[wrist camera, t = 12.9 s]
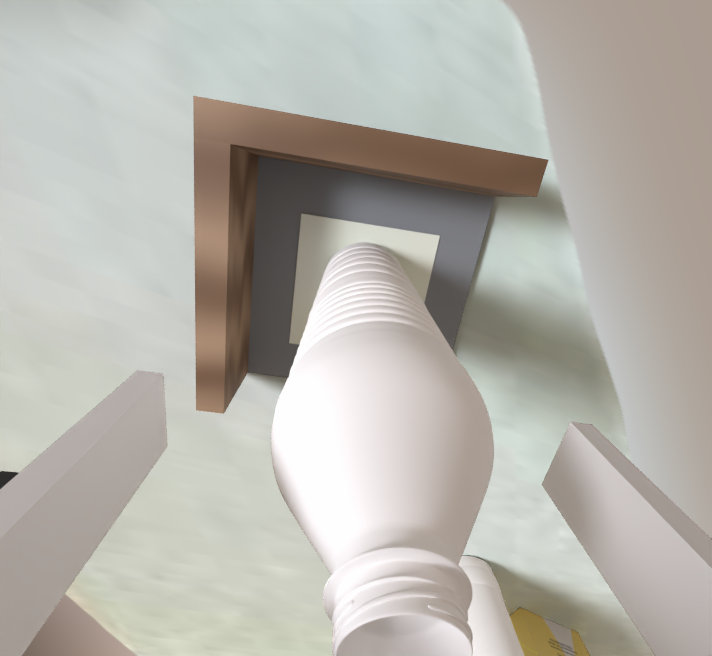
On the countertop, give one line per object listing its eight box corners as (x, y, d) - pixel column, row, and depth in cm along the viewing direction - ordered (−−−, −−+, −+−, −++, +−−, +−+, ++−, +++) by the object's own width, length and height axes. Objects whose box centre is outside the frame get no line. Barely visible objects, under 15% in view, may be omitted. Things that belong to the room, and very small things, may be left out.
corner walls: (234, 121, 25) (193, 95, 19) (499, 168, 27) (548, 160, 20) (227, 366, 32) (196, 410, 26) (437, 393, 34) (458, 441, 27)
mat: (260, 156, 26) (258, 156, 25) (491, 196, 27) (495, 196, 27) (249, 369, 32) (247, 372, 32) (437, 393, 34) (439, 397, 33)
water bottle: (364, 223, 27) (431, 427, 4) (418, 282, 29) (693, 668, 6) (289, 298, 29) (40, 721, 6) (344, 349, 31) (316, 826, 8)
